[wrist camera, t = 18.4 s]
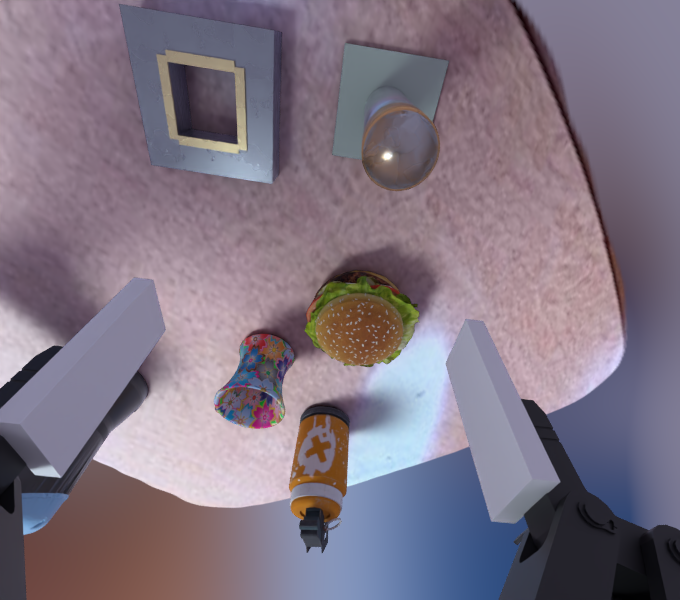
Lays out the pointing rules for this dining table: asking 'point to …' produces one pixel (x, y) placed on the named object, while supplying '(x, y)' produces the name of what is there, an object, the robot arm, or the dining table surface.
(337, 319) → the food
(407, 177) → the key peg
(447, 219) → the dining table surface
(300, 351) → the dining table surface
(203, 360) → the dining table surface
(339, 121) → the rest pad
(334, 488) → the canister
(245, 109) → the plate
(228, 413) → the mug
